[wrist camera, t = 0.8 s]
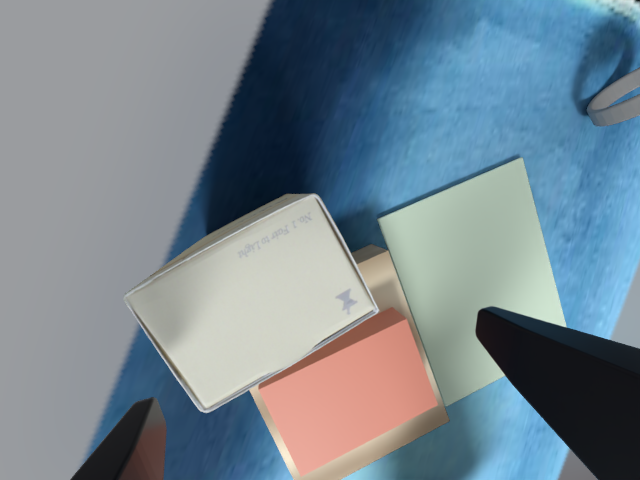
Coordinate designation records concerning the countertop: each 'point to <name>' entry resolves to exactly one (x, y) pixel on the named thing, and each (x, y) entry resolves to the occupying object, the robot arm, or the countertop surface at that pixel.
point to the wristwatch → (610, 94)
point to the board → (387, 295)
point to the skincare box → (252, 299)
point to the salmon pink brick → (349, 391)
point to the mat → (471, 270)
